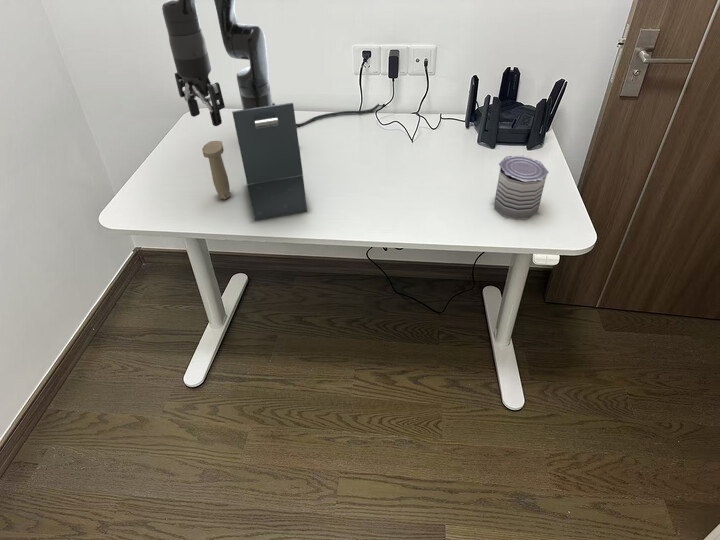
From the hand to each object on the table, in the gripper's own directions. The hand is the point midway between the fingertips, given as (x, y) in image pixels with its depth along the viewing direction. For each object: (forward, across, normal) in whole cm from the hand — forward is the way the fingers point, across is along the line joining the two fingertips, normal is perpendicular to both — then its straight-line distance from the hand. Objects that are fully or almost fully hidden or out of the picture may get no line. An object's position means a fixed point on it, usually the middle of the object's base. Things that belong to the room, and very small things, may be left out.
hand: (206, 120), depth 127 cm
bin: (+22, -12, -8) cm, 26 cm away
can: (+22, -64, -43) cm, 80 cm away
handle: (+22, 0, 0) cm, 23 cm away
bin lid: (+2, -17, -4) cm, 18 cm away
